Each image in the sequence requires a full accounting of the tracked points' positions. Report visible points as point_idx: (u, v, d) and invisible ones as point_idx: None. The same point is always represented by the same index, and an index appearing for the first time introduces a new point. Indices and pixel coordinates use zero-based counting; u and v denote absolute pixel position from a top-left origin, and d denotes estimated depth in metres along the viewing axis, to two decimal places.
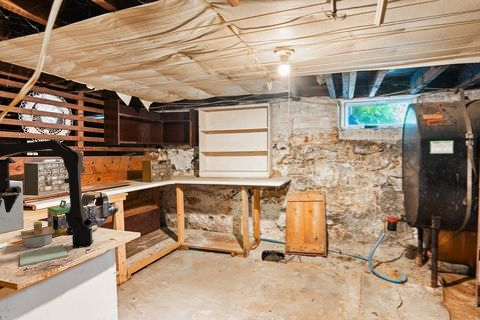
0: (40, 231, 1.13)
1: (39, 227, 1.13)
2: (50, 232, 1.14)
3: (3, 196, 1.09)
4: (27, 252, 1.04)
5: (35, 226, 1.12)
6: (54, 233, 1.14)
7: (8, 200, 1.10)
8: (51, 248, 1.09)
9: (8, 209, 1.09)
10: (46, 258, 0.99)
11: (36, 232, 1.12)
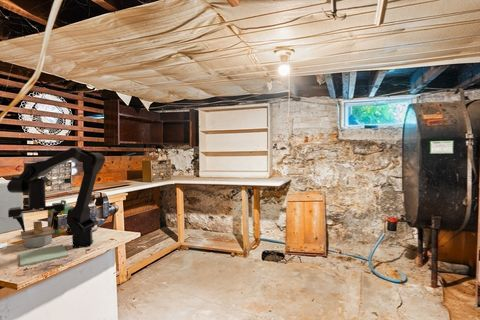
0: (40, 231, 1.13)
1: (39, 227, 1.13)
2: (50, 232, 1.14)
3: None
4: (27, 252, 1.04)
5: (35, 226, 1.12)
6: (54, 233, 1.14)
7: (51, 216, 1.17)
8: (51, 248, 1.09)
9: None
10: (46, 258, 0.99)
11: (36, 232, 1.12)
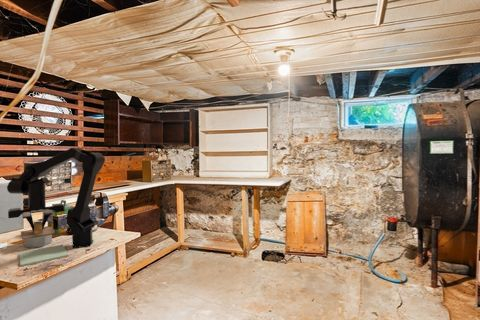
0: (40, 231, 1.13)
1: (39, 227, 1.13)
2: (50, 232, 1.14)
3: None
4: (27, 252, 1.04)
5: (35, 226, 1.12)
6: (54, 233, 1.14)
7: (42, 218, 1.15)
8: (51, 248, 1.09)
9: None
10: (46, 258, 0.99)
11: (36, 232, 1.12)
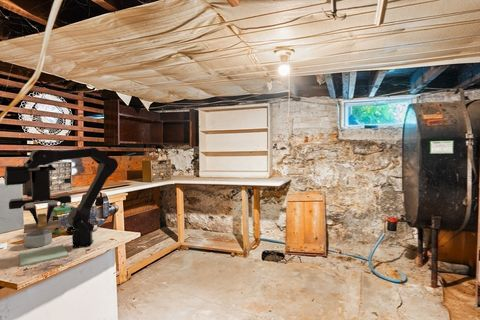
0: (44, 224, 1.02)
1: (43, 220, 1.01)
2: (55, 225, 1.03)
3: None
4: (27, 252, 1.04)
5: (39, 219, 1.01)
6: (60, 227, 1.02)
7: (47, 210, 1.04)
8: (51, 248, 1.09)
9: None
10: (46, 258, 0.99)
11: (40, 225, 1.01)
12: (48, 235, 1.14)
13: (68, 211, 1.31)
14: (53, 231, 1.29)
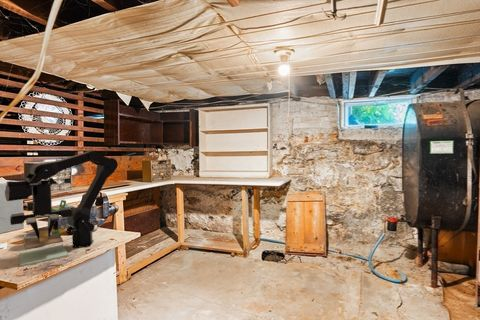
0: (46, 239, 1.01)
1: (45, 234, 1.01)
2: (57, 240, 1.02)
3: (48, 219, 1.05)
4: (27, 252, 1.04)
5: (40, 233, 1.00)
6: (61, 241, 1.02)
7: (48, 224, 1.03)
8: (51, 248, 1.09)
9: None
10: (46, 258, 0.99)
11: (41, 240, 1.00)
12: None
13: None
14: (53, 231, 1.29)
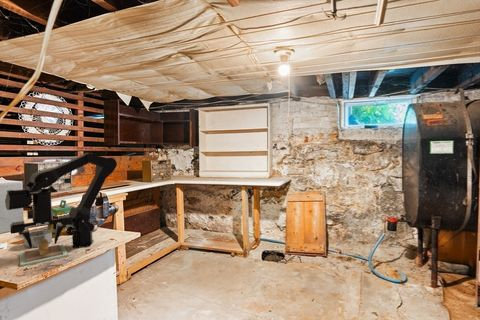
0: (46, 251, 1.01)
1: (45, 247, 1.01)
2: (57, 252, 1.03)
3: None
4: None
5: (41, 246, 1.00)
6: (62, 253, 1.02)
7: (55, 231, 1.05)
8: None
9: (54, 240, 1.05)
10: (46, 258, 0.99)
11: (42, 253, 1.01)
12: (48, 235, 1.14)
13: (68, 211, 1.31)
14: (53, 231, 1.29)
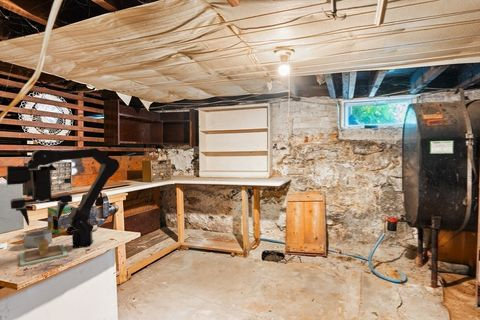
0: (46, 251, 1.01)
1: (45, 247, 1.01)
2: (57, 252, 1.03)
3: None
4: None
5: (41, 246, 1.00)
6: (62, 253, 1.02)
7: (58, 208, 1.07)
8: None
9: (57, 217, 1.07)
10: (46, 258, 0.99)
11: (42, 253, 1.01)
12: (48, 235, 1.14)
13: (68, 211, 1.31)
14: (53, 231, 1.29)
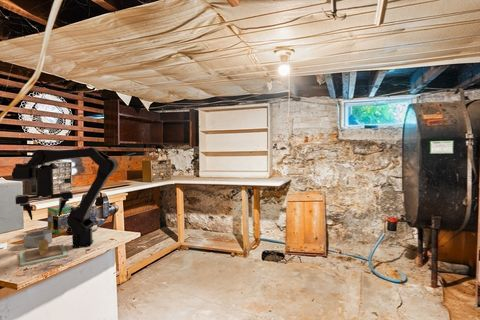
0: (46, 251, 1.01)
1: (45, 247, 1.01)
2: (57, 252, 1.03)
3: (59, 200, 1.15)
4: None
5: (41, 246, 1.00)
6: (62, 253, 1.02)
7: (59, 204, 1.14)
8: None
9: (58, 213, 1.14)
10: (46, 258, 0.99)
11: (42, 253, 1.01)
12: (48, 235, 1.14)
13: (68, 211, 1.31)
14: (53, 231, 1.29)
